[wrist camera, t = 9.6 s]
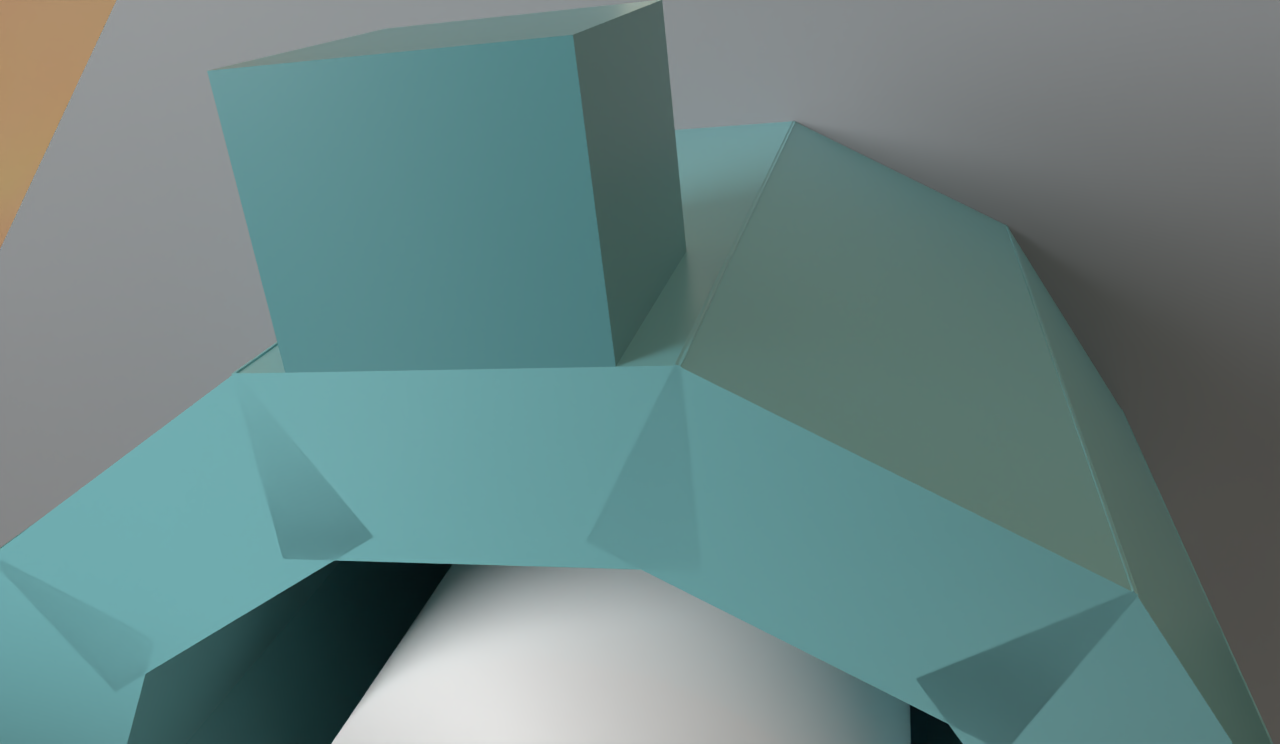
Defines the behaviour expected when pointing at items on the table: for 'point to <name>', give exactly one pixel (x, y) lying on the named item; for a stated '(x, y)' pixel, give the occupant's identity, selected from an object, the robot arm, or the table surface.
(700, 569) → the mug with handle
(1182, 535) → the flat gray panel
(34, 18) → the table surface
